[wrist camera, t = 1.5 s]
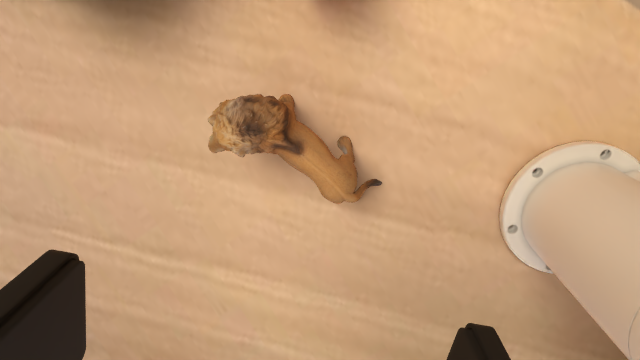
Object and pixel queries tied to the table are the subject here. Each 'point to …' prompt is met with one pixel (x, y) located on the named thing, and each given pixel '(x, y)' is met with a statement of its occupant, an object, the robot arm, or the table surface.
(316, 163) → the lion figurine
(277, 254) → the table surface
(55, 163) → the table surface
